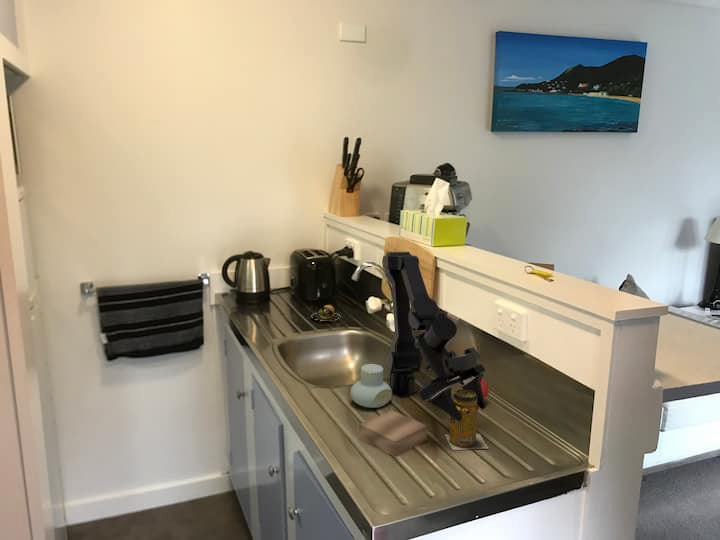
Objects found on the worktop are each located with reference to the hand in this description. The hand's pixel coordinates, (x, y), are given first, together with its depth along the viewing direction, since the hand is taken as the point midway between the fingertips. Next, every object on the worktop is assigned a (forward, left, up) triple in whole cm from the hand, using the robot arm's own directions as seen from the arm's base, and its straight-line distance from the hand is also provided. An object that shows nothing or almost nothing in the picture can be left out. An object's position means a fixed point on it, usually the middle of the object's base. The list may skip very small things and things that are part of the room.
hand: (472, 414), depth 133 cm
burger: (-95, +39, -8) cm, 103 cm away
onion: (-12, +20, -7) cm, 25 cm away
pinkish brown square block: (-13, -12, -8) cm, 19 cm away
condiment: (-1, 0, -8) cm, 8 cm away
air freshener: (-30, -2, -8) cm, 31 cm away
